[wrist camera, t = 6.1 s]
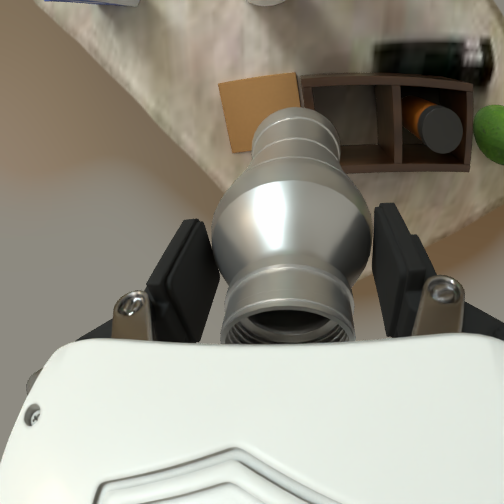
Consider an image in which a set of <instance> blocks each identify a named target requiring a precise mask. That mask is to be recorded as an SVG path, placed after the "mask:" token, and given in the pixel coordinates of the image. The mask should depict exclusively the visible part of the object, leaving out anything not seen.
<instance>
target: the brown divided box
mask: <svg viewBox="0 0 504 504" xmlns="http://www.w3.org/2000/svg"><path fill="white" fill-rule="evenodd" d="M300 79H301V85H302V92H303V99H304V106H305V108H308V109H311V110H314V111H315V108H314V100H313V92H312V87H321V86H341V85H375V96H376V110H377V127H378V144H374V145H346V146H340V149H341V155H340V161H339V162H340V166H341V168H342V170H343V171H344V172H345V174H349V173H372V172H417V171H438V172H470V161H471V150H472V134H473V84H471V83H467V82H463V81H459V80H455V79H451V78H446V77H440V76H430V75H418V74H402V73H330V74H314V75H301V76H300ZM400 85H401V86H420V87H433V88H439V98H440V105H441V106H444V107H446V108H448V109H450V110H452V111H453V112H455V113H456V114H457V116H458V117H459V119H460V121H461V123H462V128H463V135H462V139H461V142H460V144H459V145H458V146H457V148H456V149H454V150H453V151H451V152H449V153H445V154H440V153H436V152H434V151H432V150H431V149H430V148H429V147H427V146H426V145H425V144H402V107H401V90H400Z"/></svg>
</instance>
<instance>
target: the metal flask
mask: <svg viewBox="0 0 504 504" xmlns="http://www.w3.org/2000/svg"><path fill="white" fill-rule="evenodd" d="M251 155H252V161H251V163H250V165H249V166H248V168H247V169H246V170H245V171H244V172H243V173H242V174H241V175H240V176H239V177H238V178H237V179H236V180H235V181H234V183H233V184H232V185H231V186H230V188H229V189H228V190H227V191H226V193H225V194H224V196H223V198H222V199H221V200H220V202H219V204H218V206H217V208H216V210H215V213H214V217H213V221H212V226H211V228H212V252H213V256H214V259H215V263H216V265H217V267H218V269H219V271H220V273H221V274H222V276H223V277H224V279H225V281H226V282H227V284H228V285H229V288H228V291H227V295H226V299H225V317H224V321H223V325H222V329H221V333H220V334H221V339H220V341H221V344H307V343H331V342H349V341H355V339H356V336H355V330H354V323H353V313H354V301H353V295H352V289H351V288H352V286H353V285H354V284H355V282H356V281H357V279H358V278H359V277H360V275H361V273H362V272H363V270H364V268H365V267H366V264H367V261H368V258H369V256H370V251H371V245H372V237H373V224H372V217H371V214H370V211H369V209H368V206H367V204H366V202H365V200H364V198H363V196H362V195H361V193H360V191H359V190H358V189H357V187H356V186H355V185H354V183H353V182H352V181H351V180H350V178H349V177H348V176H347V175H346V174H345V172H344V171H343V170H342V168H341V166H340V162H339V161H340V155H341V149H340V139H339V135H338V133H337V131H336V129H335V127H334V126H333V124H332V123H331V122H330V121H329V120H328V119H327V118H326V117H325V116H323V115H322V114H320V113H318V112H316V111H314V110H311V109H308V108H302V107H290V108H285V109H281V110H278V111H276V112H274V113H272V114H270V115H269V116H268V117H267V118H265V119H264V120H263V121H262V123H261V124H260V125H259V126H258V128H257V130H256V132H255V134H254V137H253V140H252V153H251Z"/></svg>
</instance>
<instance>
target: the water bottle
mask: <svg viewBox="0 0 504 504" xmlns="http://www.w3.org/2000/svg"><path fill="white" fill-rule="evenodd" d="M247 1H248V2H250V3H252V4H255V5H258V6H273V5H277V4H279V3H282V2H283V1H285V0H247Z"/></svg>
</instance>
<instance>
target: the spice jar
mask: <svg viewBox="0 0 504 504" xmlns="http://www.w3.org/2000/svg"><path fill="white" fill-rule="evenodd" d="M401 107H402V126H403V127H404V128H405V129H407V130H408V131H410V132H411V133H412V134H413V135H415V136H416V137H417V138H419V139H420V140H421V141H422V142H423V143H424V144H425V145H426V146H427V147H429V148H430V149H431V150H432V151H434V152H436V153H440V154H445V153H449V152H451V151H453V150H454V149H456V148H457V146H458V145H459V144H460V142H461V139H462V135H463V128H462V123H461V121H460V119H459V117H458V116H457V114H456V113H455V112H453V111H452V110H450V109H448V108H446V107H444V106H441V105H437V104H435V103H432V102H430V101H427V100H425V99H422V98H420V97H417V96H413V95H409V96H406V97H404V98H402V99H401Z"/></svg>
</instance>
